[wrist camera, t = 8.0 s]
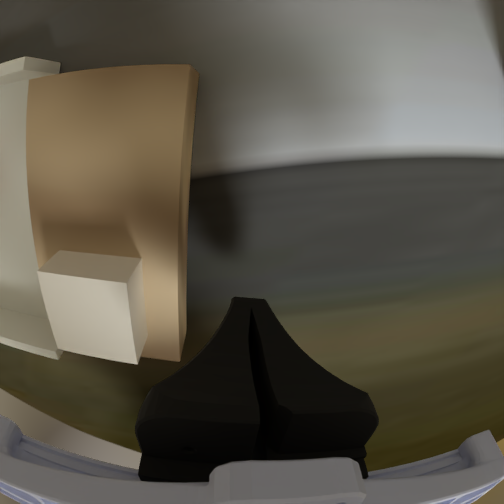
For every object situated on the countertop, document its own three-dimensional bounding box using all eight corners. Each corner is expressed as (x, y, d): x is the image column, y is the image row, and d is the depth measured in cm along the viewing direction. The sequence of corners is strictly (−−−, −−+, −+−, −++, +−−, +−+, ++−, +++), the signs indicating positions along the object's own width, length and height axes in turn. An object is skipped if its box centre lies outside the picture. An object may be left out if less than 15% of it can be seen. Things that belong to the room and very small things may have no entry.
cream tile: (147, 335, 14) (137, 364, 12) (74, 323, 13) (57, 348, 12) (141, 258, 12) (126, 283, 10) (59, 249, 12) (36, 271, 10)
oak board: (186, 330, 17) (180, 361, 14) (74, 314, 16) (57, 340, 14) (199, 73, 11) (190, 64, 9) (58, 81, 11) (29, 79, 9)
